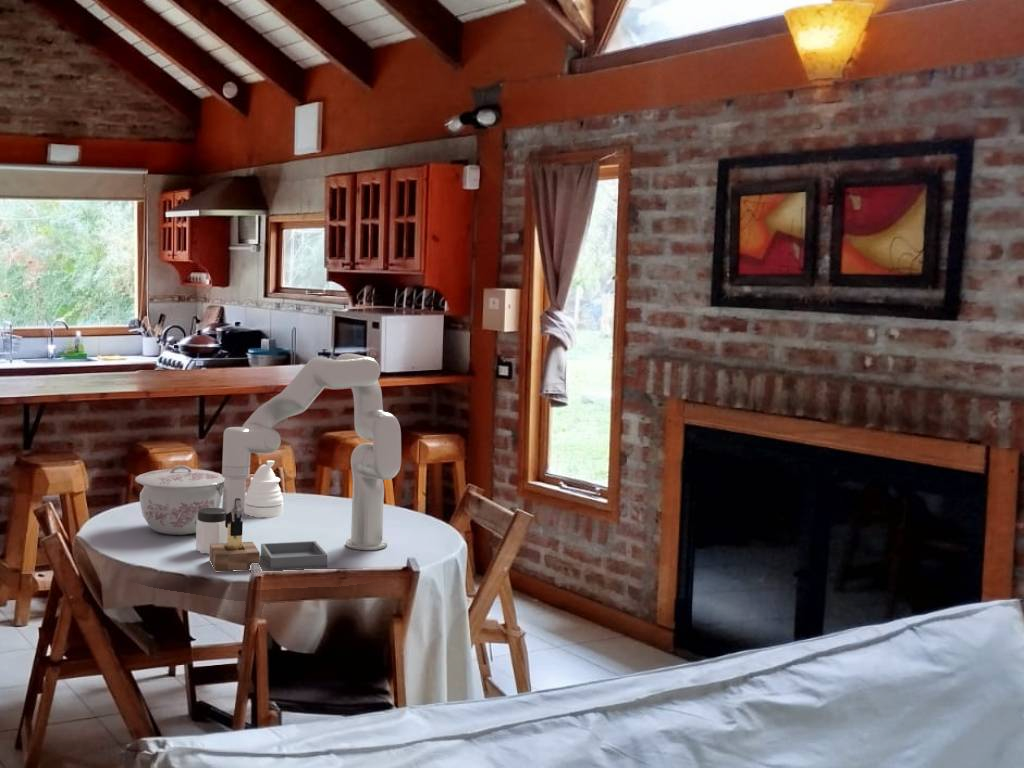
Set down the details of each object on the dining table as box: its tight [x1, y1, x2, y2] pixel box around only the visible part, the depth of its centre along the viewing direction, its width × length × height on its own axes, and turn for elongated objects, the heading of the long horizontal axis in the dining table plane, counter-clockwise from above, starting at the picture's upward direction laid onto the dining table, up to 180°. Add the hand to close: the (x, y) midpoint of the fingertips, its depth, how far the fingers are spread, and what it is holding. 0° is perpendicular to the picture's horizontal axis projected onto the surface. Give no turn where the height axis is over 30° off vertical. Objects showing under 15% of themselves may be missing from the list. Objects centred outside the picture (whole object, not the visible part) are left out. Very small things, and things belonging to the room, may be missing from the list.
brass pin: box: [227, 522, 243, 551], centre depth 325 cm, size 4×4×12 cm
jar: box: [195, 507, 228, 554], centre depth 339 cm, size 9×8×12 cm
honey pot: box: [243, 460, 284, 519], centre depth 389 cm, size 13×13×18 cm
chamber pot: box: [134, 464, 225, 536], centre depth 360 cm, size 28×28×21 cm
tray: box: [260, 540, 329, 571], centre depth 333 cm, size 16×16×4 cm
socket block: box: [209, 541, 261, 572], centre depth 325 cm, size 12×12×5 cm
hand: (233, 531), depth 324 cm, fingers open, 9 cm apart
